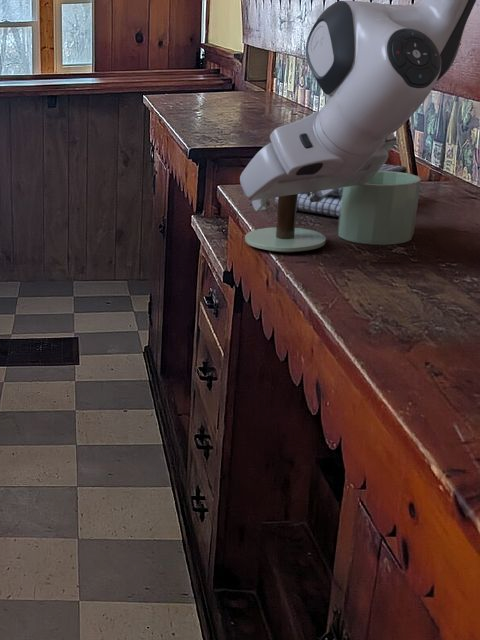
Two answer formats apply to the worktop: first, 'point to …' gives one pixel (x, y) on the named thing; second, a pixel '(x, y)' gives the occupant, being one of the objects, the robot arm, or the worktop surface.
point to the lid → (285, 231)
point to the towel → (332, 198)
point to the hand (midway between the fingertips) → (285, 202)
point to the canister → (380, 209)
